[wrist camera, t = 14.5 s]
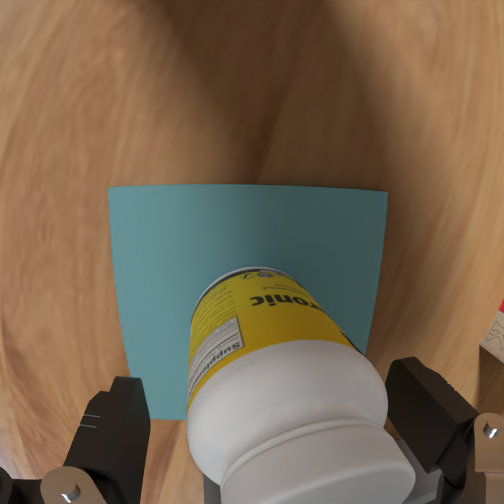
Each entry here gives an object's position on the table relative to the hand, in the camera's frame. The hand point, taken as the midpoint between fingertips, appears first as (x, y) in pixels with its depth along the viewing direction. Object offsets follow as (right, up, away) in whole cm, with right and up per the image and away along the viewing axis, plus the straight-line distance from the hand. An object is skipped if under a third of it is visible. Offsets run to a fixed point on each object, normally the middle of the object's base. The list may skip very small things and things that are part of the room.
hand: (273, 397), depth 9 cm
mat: (-1, +1, +5) cm, 6 cm away
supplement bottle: (-1, +1, +5) cm, 5 cm away
